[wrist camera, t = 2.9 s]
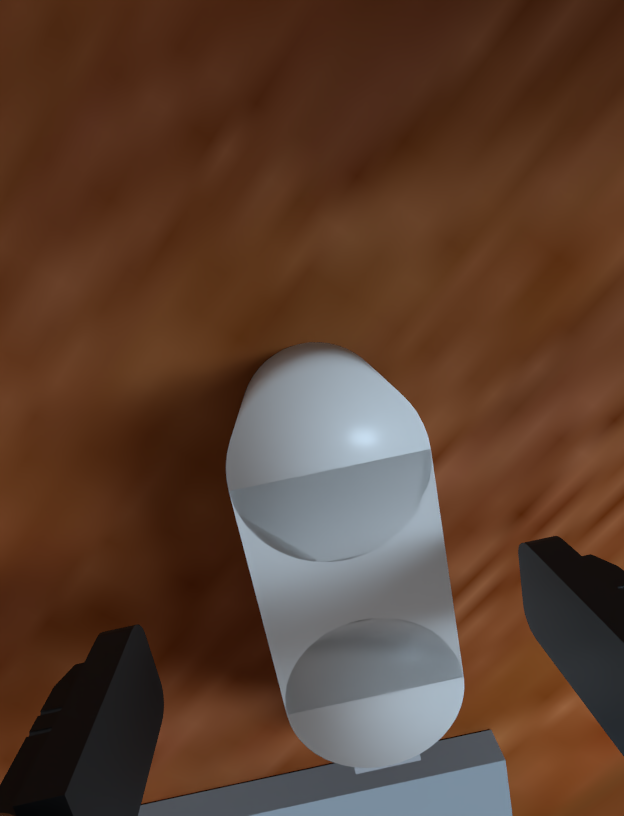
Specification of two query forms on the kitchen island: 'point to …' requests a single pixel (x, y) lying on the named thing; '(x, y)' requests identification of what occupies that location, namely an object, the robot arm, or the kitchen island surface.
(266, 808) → the cutting board
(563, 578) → the robot arm
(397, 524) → the rounded plug
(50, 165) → the kitchen island surface
